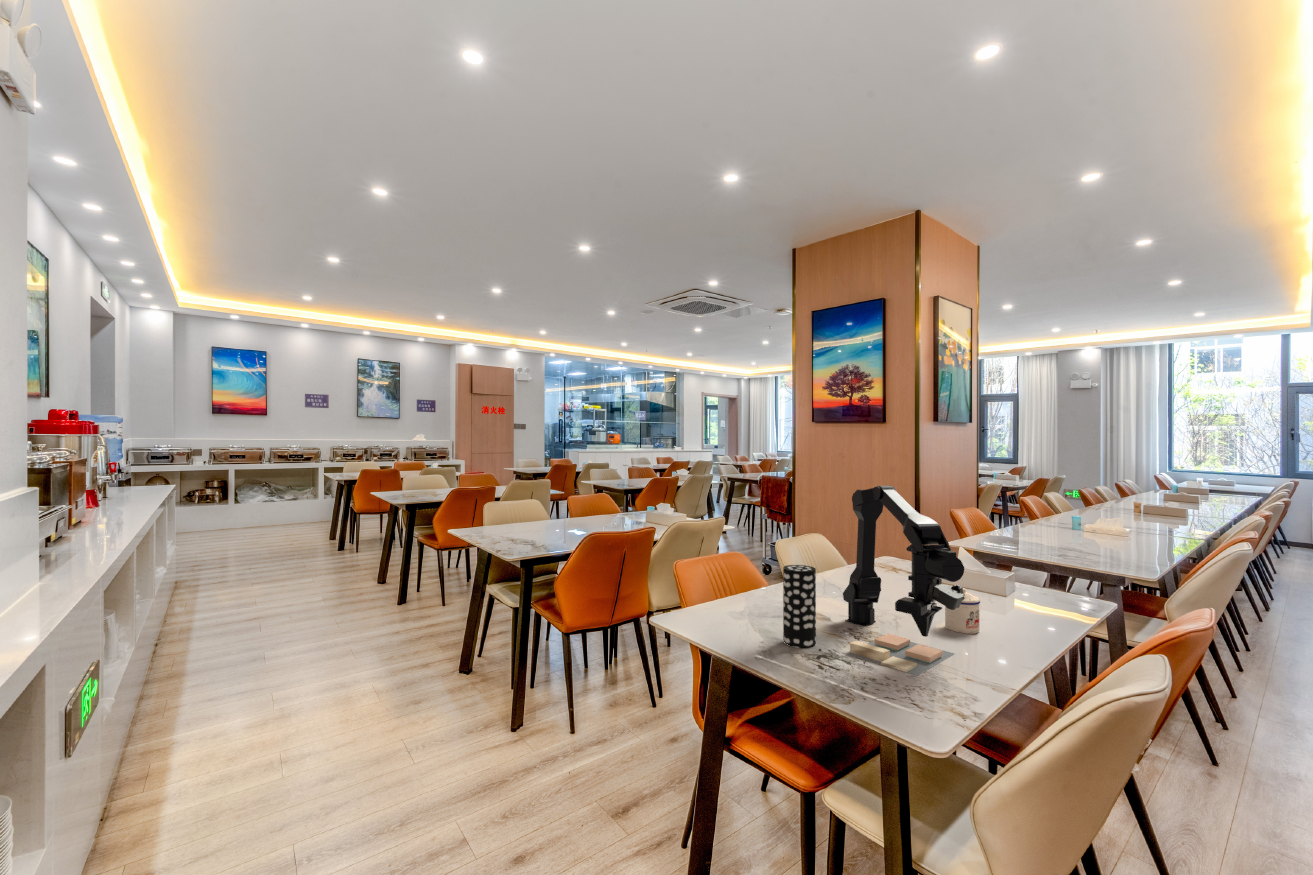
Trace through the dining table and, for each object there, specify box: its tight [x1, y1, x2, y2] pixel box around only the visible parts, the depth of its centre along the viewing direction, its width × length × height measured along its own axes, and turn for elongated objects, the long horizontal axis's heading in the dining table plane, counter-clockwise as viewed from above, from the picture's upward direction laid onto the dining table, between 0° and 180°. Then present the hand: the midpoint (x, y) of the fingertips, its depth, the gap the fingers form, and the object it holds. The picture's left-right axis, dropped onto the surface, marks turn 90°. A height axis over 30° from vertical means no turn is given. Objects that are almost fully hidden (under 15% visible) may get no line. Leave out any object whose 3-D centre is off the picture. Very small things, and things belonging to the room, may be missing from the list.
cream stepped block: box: [849, 640, 917, 673], centre depth 137 cm, size 15×6×2 cm, turn 41°
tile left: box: [874, 633, 911, 651], centre depth 147 cm, size 6×2×7 cm
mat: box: [844, 639, 956, 677], centre depth 142 cm, size 18×21×1 cm
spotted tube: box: [782, 564, 817, 649], centre depth 150 cm, size 8×8×20 cm
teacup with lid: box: [944, 587, 981, 635], centre depth 163 cm, size 12×9×12 cm
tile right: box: [905, 643, 943, 664], centre depth 139 cm, size 6×2×7 cm
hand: (924, 635), depth 139 cm, fingers closed
